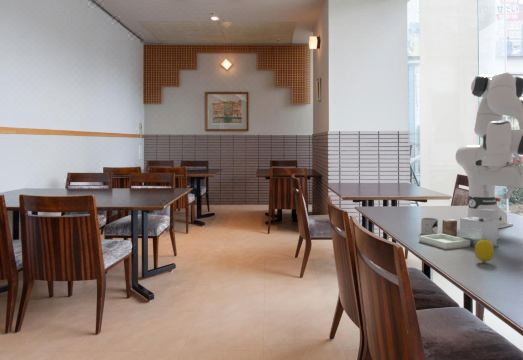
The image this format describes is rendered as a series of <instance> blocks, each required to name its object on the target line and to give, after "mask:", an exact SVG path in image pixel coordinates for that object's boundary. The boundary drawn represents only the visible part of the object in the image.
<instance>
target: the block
mask: <svg viewBox="0 0 523 360" xmlns="http://www.w3.org/2000/svg"><path fill="white" fill-rule="evenodd" d="M441 225H442V226H441V227H442V230H441V231H442V232H441V234H446V235H450V236H455V237H458V235H457V234H458V220H456V219H453V218H452V219H451V218H449V219H442V224H441Z"/></svg>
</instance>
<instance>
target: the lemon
mask: <svg viewBox="0 0 523 360" xmlns="http://www.w3.org/2000/svg"><path fill="white" fill-rule="evenodd" d="M494 248H495V247H493V245H492V243H491V242H490V241H488V240H486V239H483V240H480V241H478V242H477V244H476V246H475V247H474V254H475V257H476V258H477V260H480V261H481V262H482V263H483V264H485V263H486V262H489V261H490V260H492V259H493V257H494V255H495V249H494Z"/></svg>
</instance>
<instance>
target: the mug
mask: <svg viewBox="0 0 523 360" xmlns="http://www.w3.org/2000/svg"><path fill="white" fill-rule="evenodd" d="M438 222H439V220H438V218H435V217H421V225H420V229H421V230H420V232H421V233H420V234H421V235H422V236H423V235H433V234H438V228H439V227H438V225H439V223H438Z"/></svg>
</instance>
